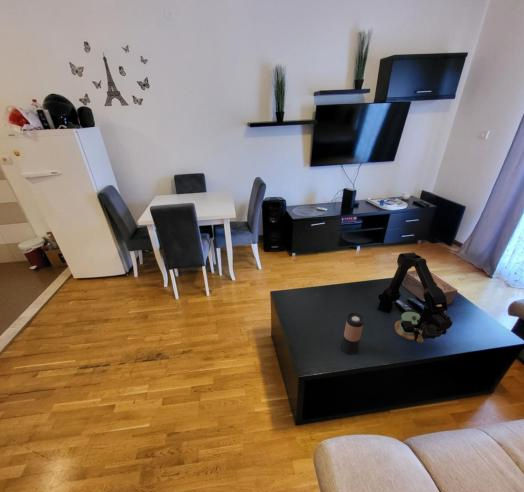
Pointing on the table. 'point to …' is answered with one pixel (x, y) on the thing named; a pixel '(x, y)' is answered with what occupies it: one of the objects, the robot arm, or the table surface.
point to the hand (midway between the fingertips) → (418, 340)
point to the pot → (413, 318)
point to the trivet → (402, 332)
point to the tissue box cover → (417, 288)
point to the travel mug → (352, 332)
